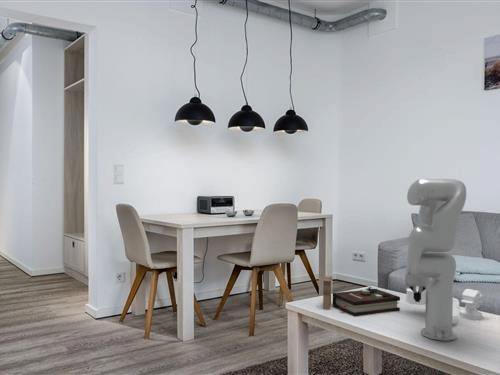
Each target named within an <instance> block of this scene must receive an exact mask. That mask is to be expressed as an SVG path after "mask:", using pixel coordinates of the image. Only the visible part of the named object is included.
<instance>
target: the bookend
mask: <svg viewBox="0 0 500 375" xmlns="http://www.w3.org/2000/svg"><path fill="white" fill-rule="evenodd" d="M332 280H333V276H329V275H325V276H324V278H323V294H322V296H323V298H322V305H323V306H322V309H323V310H330V309H331V306H332Z"/></svg>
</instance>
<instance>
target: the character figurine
mask: <svg viewBox="0 0 500 375" xmlns="http://www.w3.org/2000/svg"><path fill="white" fill-rule="evenodd" d="M461 298H462V299H461V300H460V302H461V303H463V304H465V306H464V309H461V310H459V316H460V317H461V319H462V318H463V319H466V320H471V321H481V320H482V319H483V313H482V312H481V311H478V308H480V306H481V305H482V303H483V302H482V300H481V299H482V298H484V296H483V294H482V293H481V292H480V290H475V289H470V288H466V289H464V291H463V292H462V293H461Z"/></svg>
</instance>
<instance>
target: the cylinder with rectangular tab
mask: <svg viewBox="0 0 500 375" xmlns="http://www.w3.org/2000/svg"><path fill="white" fill-rule="evenodd" d="M418 290H419V286H416V291H417V292H418ZM406 303H408V304H411V305H419V306H421V305H426V290H424V291H423V292H422V293H421V300H420V302H416V301H415V300H414V292H413V291H412V290H411V289H410V288H406Z"/></svg>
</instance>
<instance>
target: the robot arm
mask: <svg viewBox="0 0 500 375" xmlns="http://www.w3.org/2000/svg"><path fill="white" fill-rule="evenodd" d="M406 196H407V197H406V200H407V202H408V204H409V205H410V206H419V211H418V216H417V217H418V219H419V221H420V222H422V223H423V224H424V225H419V226H418V225H417V226H415V227H413V228H412V230H411V231H410V234H408V235H409V236H408V248H407V257H406V266H405V276H404V277H405V279H404V280H405V284H404V288H406V289H407V288H410V289H411V290H412V291H413V292H414V300H415V301H416V302H420V300H421V293H422V292H423V291H424V290H426V304H425V319H424V327H423V328H421V329H420V334H421V335H422V336H423V337H425V338H428V339H430V340H436V341H442V342H443V341H444V342H449V341H455V340H456V339H457V337H458V336H457V333H456V332H454V331H453V314H454V313H453V312H454V311H453V307H454V301H453V300H454V281H455V275H456V270H457V260H456V259H455V257H454V256H453V255H451V254H450V253H448V252H451V251H452V250H454V248H455V244H456V240H457V232H458V226H459V220H460V219H459V218H460V216H461V213H462V211H463V209H464V207H465V203H466V200H467V187H466V185H465V183H464V182H462V181H461V180H458V179H453V178H418V179H417V180H415V181H414V182H413V183H412V184H411V185H410V186H409V188H408V189H407V195H406ZM416 286H419V290H418V292H417V291H416Z"/></svg>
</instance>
